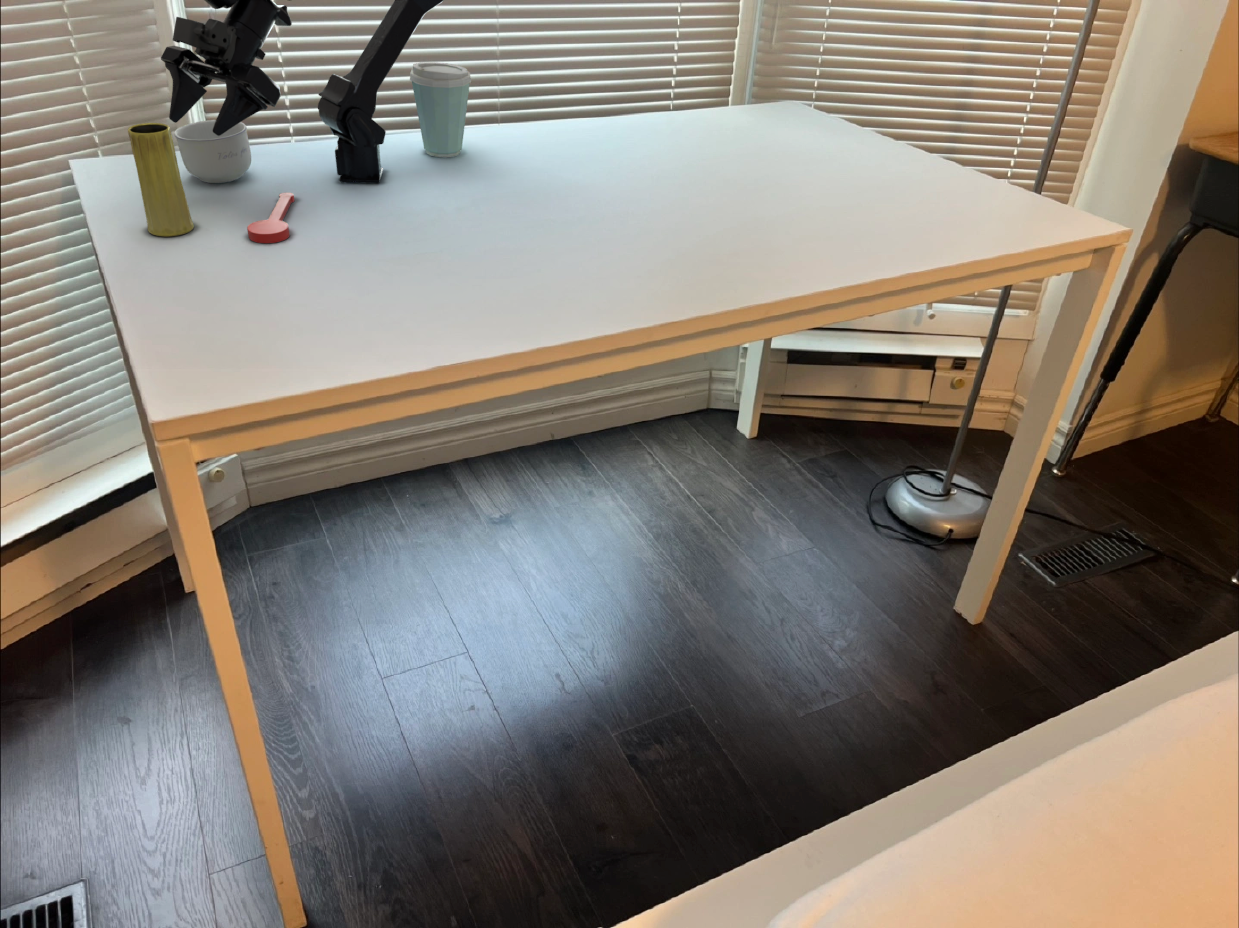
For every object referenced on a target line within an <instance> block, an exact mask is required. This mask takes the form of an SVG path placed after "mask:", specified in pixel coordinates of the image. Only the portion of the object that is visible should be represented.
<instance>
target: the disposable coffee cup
mask: <svg viewBox="0 0 1239 928" xmlns="http://www.w3.org/2000/svg"><path fill="white" fill-rule="evenodd" d="M409 81H411V85H412V90H413V97H414V101H415V106H416V112H417V117H418V122H419V127H420V133H421V138H422V145H423V149H424V150H425V153H426V154H427V155H428V156H431V157H436V158H454V157H457V156H459V155H461V151H462V149H463V142H464V133H465V127H466V118H467V109H468V100H469V94H470V85H471V83H472V77H471V72H470V71H468V69H467V68H466V67H464V66H461V65H459V64H458V65H457V64H453V63H449V62H438V61H437V62H436V61H420V62H415V63H412V68H411V70H410V75H409Z"/></svg>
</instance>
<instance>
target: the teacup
mask: <svg viewBox="0 0 1239 928" xmlns="http://www.w3.org/2000/svg"><path fill="white" fill-rule="evenodd" d="M215 121H216V119H208V120H200V121H196V122H192V123H191V122H190V123H188V124H185V125H182V126H179V127H178V128H176V129H175V131H174V132H173V135H174V137H175V139H176V143H177V147H178V150H179V153H180V154H179V155H180V157H181V159H182V162H183V165H184V167H185V169H186V171H187V172H188V173H189V174H190V175H192V176H193V177H195V178H197V179H199V180H200V181H201V182H204V183H208V184H223V183H230V182H234V181H237V180H238V179H240V178H242V177H243V176H244V175H245V173H246V172H247V171H248V170H249V168H250V167H251V164H252V151H251V146H250V145H251V144H250V140H249V137H248V131H247V130H248V129H247V125H246V124H245V123H244V122H243V121H241V122H240V123H238V124H237V125H235V126H234V127H232V128H231V129H229V130H228V131H226V132H225V133H223V134H222V135H220V136H217V135H216V134H214V133H213V127H214V124H215Z"/></svg>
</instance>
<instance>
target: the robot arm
mask: <svg viewBox="0 0 1239 928" xmlns="http://www.w3.org/2000/svg"><path fill="white" fill-rule="evenodd" d="M203 1H204V2H205V3H207V4H208V5H209V6H210V7H211V8H212V9H214V10H220V9H222V8H224V9H227V10H228V9H229V10H228V12H227V14H226V16H225V18H224V20H223V21H220V20H218V19H213V18H208V19H207V20H206V22H205V23H203V22H199V21H196V20H193V19H189V18H185V17H180V16H175V17H176V18H175V23H174V28H173V35H172V41H173V42H175V43H178V44H180V43H182V44H185V45H188V46H190V47H193V48H195V50H194V52H193V51H192V50H191V49H190V48H185V47H182V46H178V45H169V46H166V47H165V49H164V51H163V53H162V55H161V56H160V60H161V61H162V62H163V63H164V68H165V69H166V70H168V71H169V74H170V77H171V79H172V89H171V99H170V108H169V114H168V118H169V120H170V121H171V122H173V123H174V124H175V123H178V122H179V121H180V120H181V119H183V117H185V116H186V114H188V112H189V111H190V110H191V109H192V108H193V107H194V106H195V105H196V104H197V103H198V102H199V100H200V99H201V98H203V96H204V95H205V94H206V93H207V92H208V90H207V89H206V87H208V86H209V85H211V83H212V81H213V80H214V81H218V82H220V83H225V89H226V97H225V99H224V101H223V103H222V106H221V107H220V110H219V112H218V115H217V117H216V119H215V120H216V121H215V124H214V127H213V133H214V134H216V135H217V136H220V135H222V134H223V133H225V132H226V131H228V130H229V129H231V128H232V127H234V126H235V125H237V124H238V123H240V122H243V121H245V120H246V119H248V118H250V117H251V116H254V115H255V114H257V113H258V112H260V111H262V110H263V111H267V110H268V106H269V107H274V108H275V107H276V106H277V104H278V102H279V100H280V98H281V97H282V94H281V87H280V85H279V84H278V83H276V81H275V80H273V79H272V78H271V77H270V76H269V75H268V74H267V73H266V72H265V71H264V70H263V69H262V68H260V67H259V66H256V65H254V63H255V61H256V60H259V61H260V60H261V61H263V60H264V58H265V57H266V55H267V54H266V52H265V51H263V50H262V48H263V46H264V44H265V43H266V40H267V38H268V37H269V34H270V33H271V31H272V29H273V27H274V26H277V27H291V26H292V25H293V22H292V19H291V16H290V14H289V12H288V6H287V5H285V4H284V5H280V4H279V5H278V4H276V2H274V1H273V0H203ZM288 1H291V0H288ZM444 1H445V0H394V1H393V2H392V4H391V5H390V7H389V8H388V11H387V12H386V14H384V17H383V18H382V20H381V22H380V23H379V24H378V27H377V28H376V30H375V32H374V33H373V35H372V36H371V38H370V39H369V41H368V43H367V44H366V46H365V48H364V49H363V50H362V52H361V54H360V56H359V58H357V60H356V62H355V64H354V65H353V67H352V69H351V70H350V71H349V72H348V73H347V74H345V75H343V76H339V75H337V74H336V73H332V74H331V75H330V76H329V78H328V81H327V83H326V84H325V87H324V88H323V89H322V90H321V91H320V92H319V93H318V96H319V101H318V103H317V110H318V116H319V118H320V120H321V122H323V124H324V125H326V126H328V127H329V130H330V132H331V134H332V135H334V136H336V137H338V139H337V142H336V143H337V146H336V147H335V149H334V157H335V165H336V174H337V175H338V176H339V178H338V181H339V182H340V183H363V184H365V183H366V184H367V183H368V184H377V183H380V182H381V180H382V176H383V173H384V168H383V167H382V162H381V152H380V145H383V144H384V142H385V137H386V133H387V131H386V130H385V129H384V128H383V127H382V126H381V125H380V124H378V123H377V122H376V121H375V120H374V119H373V116H374V114H375V112H376V108H377V98H378V91H379V89H380V87H381V86H382V84H383V82H384V81H385V79H386V78H387V76H388V74H389V73H390V71H391V69H392V68H393V67H394V65H395V63H396V62H397V60H398V58H399V56H400V55H401V54H402V52H403V50H404V49H405V47H406V45H407V44H408V42H409V40H410V38H411V37H412V35H413V34H414V32H415V31H416V29H417V27H418V26H419V24H420V22H421V21H422V19H423V17H424V16H425V15H426V14H427V13H428V12H430V11H432V9H434V8H436V7H437V6H439V5H440V4H442V3H443V2H444ZM201 58H203V59H204V60H202V59H201Z"/></svg>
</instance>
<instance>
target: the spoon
mask: <svg viewBox="0 0 1239 928" xmlns="http://www.w3.org/2000/svg"><path fill="white" fill-rule="evenodd" d="M295 201H296V199H295V194H294V193H292V192H287V191H286V192H281V193H279V194H278V200H277V202H276V204H275V205H274V207H273V208H272V211H271V213H270V214H269V217H268V219H262V220H256V221H253V222H251V223H249V224H248V225H247V227H246V229H247V235H248V239H249V240H250V241H252V242H254V243H258V244H275V243H280V242H282V241H286V240H287V239H289V238H290V235H291V234H290V226H289V223H287V222H286V221H283V220H284V219H285V217H286V215H287V213H288V210H289V209H290V206H291V204H293V203H294V202H295Z"/></svg>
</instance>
